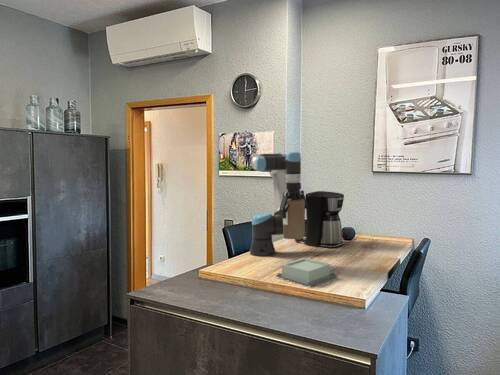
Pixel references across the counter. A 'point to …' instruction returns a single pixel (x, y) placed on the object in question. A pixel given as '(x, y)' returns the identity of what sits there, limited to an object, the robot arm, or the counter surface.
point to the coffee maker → (323, 219)
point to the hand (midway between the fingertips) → (294, 222)
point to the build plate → (306, 272)
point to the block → (295, 220)
